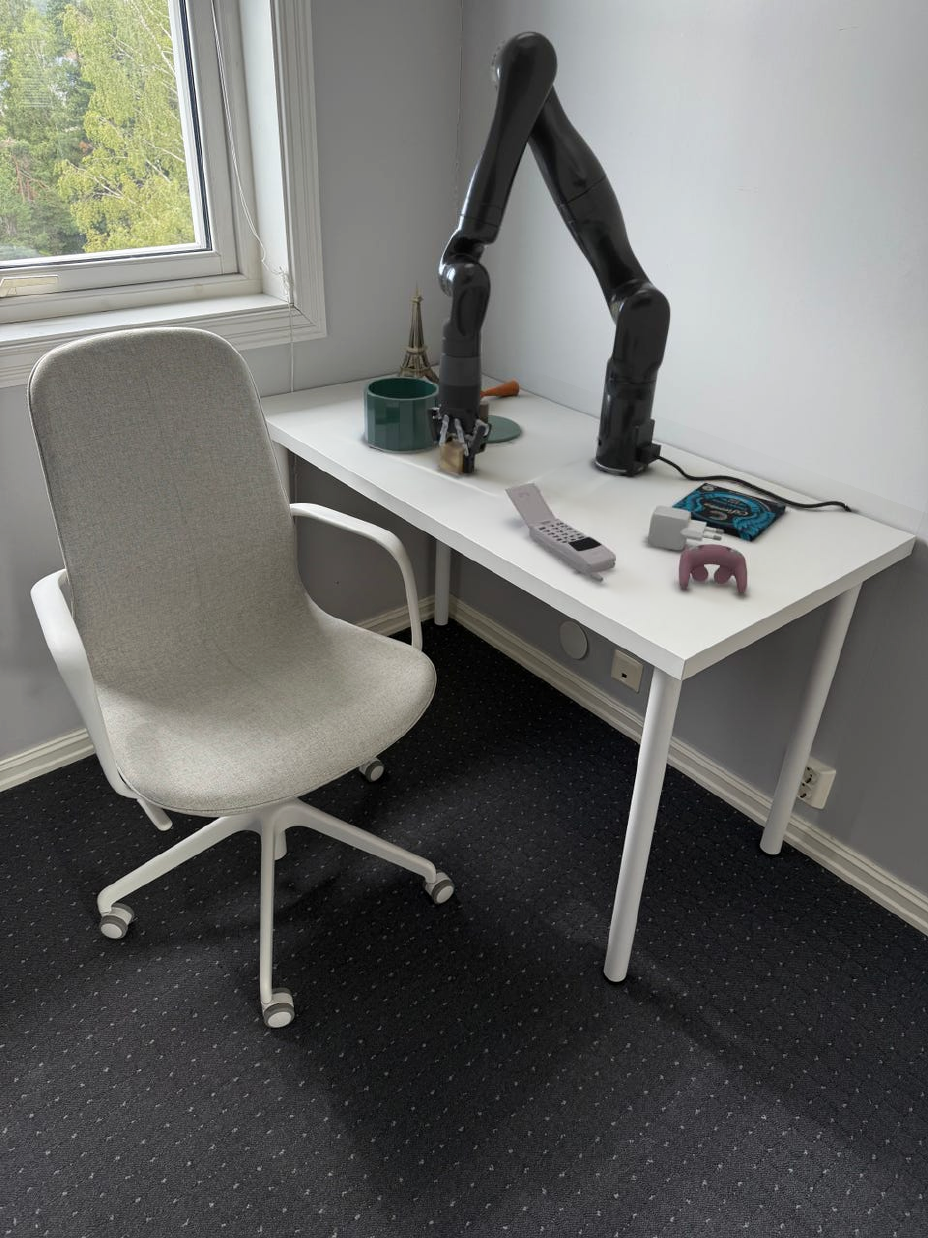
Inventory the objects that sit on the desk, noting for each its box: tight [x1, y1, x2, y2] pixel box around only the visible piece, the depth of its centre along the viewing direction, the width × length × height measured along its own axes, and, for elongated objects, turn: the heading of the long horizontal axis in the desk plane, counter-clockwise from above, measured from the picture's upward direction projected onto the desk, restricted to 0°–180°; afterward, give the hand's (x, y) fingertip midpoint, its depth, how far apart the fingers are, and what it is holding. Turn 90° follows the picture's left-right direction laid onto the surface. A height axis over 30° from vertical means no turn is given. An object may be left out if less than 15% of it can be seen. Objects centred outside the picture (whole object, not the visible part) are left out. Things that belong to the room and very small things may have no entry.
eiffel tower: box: [394, 280, 439, 386], centre depth 202 cm, size 11×11×25 cm
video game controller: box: [678, 543, 748, 595], centre depth 134 cm, size 10×5×7 cm, turn 84°
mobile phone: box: [504, 482, 617, 583], centre depth 142 cm, size 6×6×25 cm
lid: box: [454, 400, 521, 444], centre depth 185 cm, size 16×16×6 cm
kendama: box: [481, 380, 521, 401], centre depth 200 cm, size 6×6×20 cm
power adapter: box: [647, 505, 725, 551], centre depth 143 cm, size 11×5×6 cm, turn 69°
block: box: [440, 438, 470, 475], centre depth 167 cm, size 4×4×5 cm
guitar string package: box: [671, 482, 787, 543], centre depth 156 cm, size 15×1×15 cm
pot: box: [363, 376, 440, 453], centre depth 178 cm, size 15×15×10 cm
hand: (457, 468), depth 168 cm, fingers closed on block, 4 cm apart
